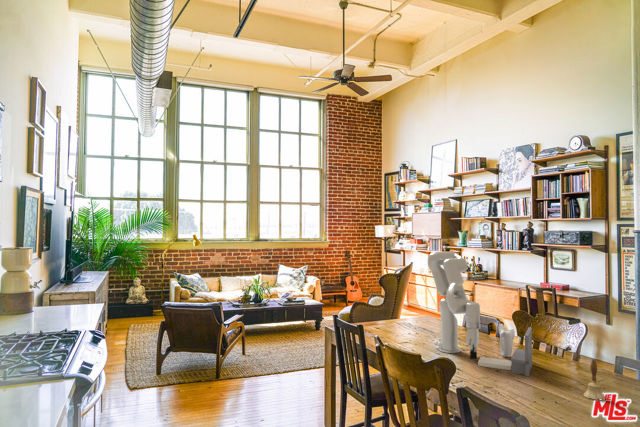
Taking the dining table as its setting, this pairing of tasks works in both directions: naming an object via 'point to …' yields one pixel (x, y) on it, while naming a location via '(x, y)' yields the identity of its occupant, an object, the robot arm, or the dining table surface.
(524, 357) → the gray l-shaped bracket
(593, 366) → the hand bell
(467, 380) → the dining table surface
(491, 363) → the ceramic tile
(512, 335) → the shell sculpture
